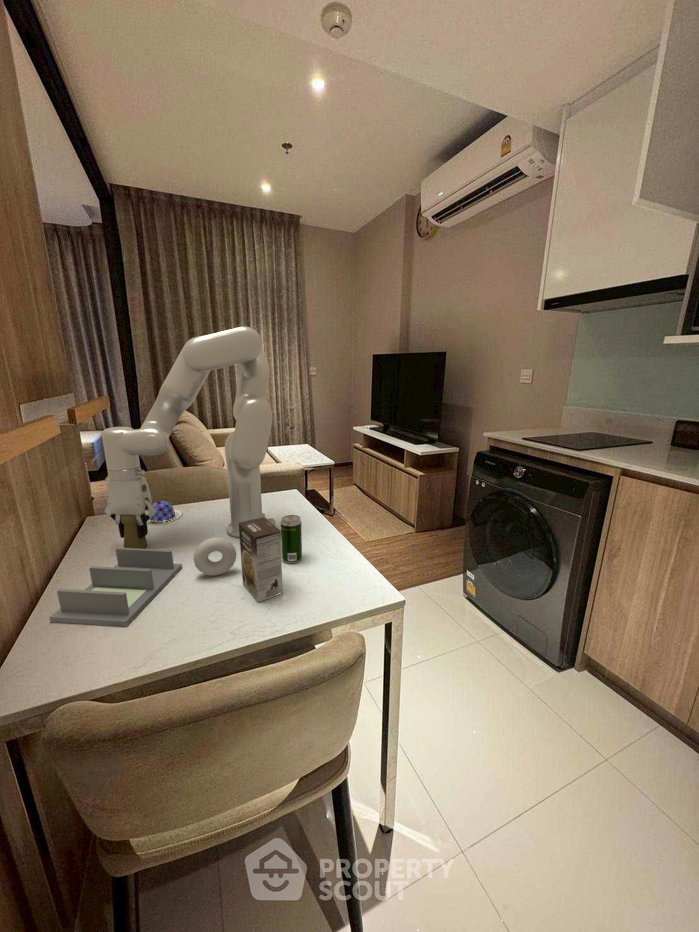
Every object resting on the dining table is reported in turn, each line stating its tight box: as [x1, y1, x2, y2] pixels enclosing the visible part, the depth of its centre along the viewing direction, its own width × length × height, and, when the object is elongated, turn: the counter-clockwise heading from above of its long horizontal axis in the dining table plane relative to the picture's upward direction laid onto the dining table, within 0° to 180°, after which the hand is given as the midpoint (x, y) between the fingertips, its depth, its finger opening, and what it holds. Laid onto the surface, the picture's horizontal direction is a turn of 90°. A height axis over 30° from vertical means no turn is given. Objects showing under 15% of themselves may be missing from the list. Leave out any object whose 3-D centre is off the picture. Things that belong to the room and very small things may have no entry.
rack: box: [49, 547, 183, 628], centre depth 84 cm, size 16×22×6 cm
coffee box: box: [238, 517, 283, 603], centre depth 85 cm, size 9×6×16 cm
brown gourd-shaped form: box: [121, 515, 149, 549], centre depth 103 cm, size 6×6×11 cm
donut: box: [193, 537, 238, 576], centre depth 91 cm, size 10×4×10 cm, turn 109°
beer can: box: [280, 514, 303, 565], centre depth 99 cm, size 5×5×12 cm
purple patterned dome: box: [147, 500, 183, 524], centre depth 125 cm, size 12×12×5 cm
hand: (134, 535), depth 104 cm, fingers closed on brown gourd-shaped form, 4 cm apart
